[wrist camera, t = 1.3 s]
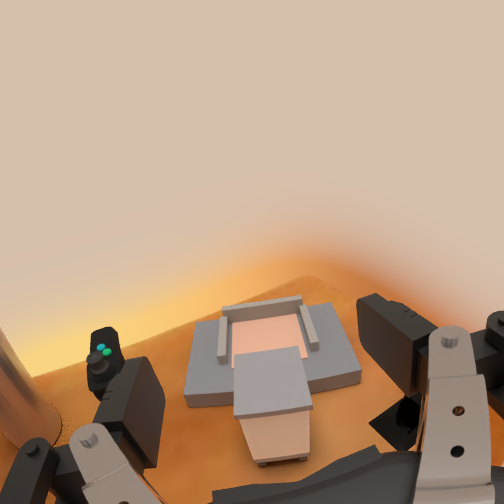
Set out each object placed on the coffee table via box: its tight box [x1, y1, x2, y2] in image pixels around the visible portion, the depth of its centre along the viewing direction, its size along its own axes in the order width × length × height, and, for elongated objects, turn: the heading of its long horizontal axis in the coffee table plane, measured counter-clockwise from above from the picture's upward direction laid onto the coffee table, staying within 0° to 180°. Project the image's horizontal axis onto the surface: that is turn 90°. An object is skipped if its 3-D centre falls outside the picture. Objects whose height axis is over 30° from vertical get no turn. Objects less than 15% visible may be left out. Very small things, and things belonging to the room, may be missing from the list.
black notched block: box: [369, 392, 423, 451], centre depth 24 cm, size 12×7×5 cm, turn 114°
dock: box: [184, 295, 362, 407], centre depth 36 cm, size 20×14×5 cm
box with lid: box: [234, 346, 313, 466], centre depth 23 cm, size 5×6×11 cm
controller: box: [86, 327, 125, 402], centre depth 31 cm, size 4×12×10 cm, turn 26°
